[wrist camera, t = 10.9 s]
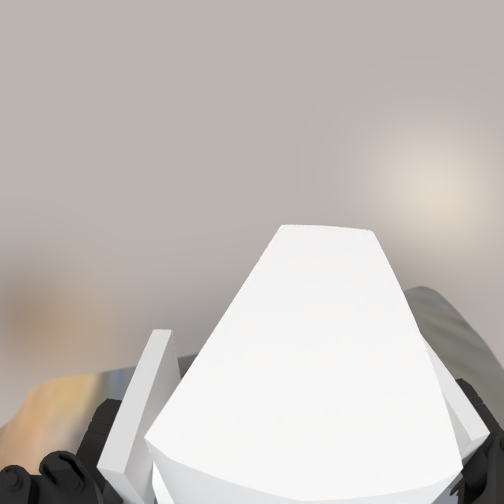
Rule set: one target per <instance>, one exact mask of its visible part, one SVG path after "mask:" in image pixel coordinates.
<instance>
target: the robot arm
mask: <svg viewBox="0 0 504 504" xmlns="http://www.w3.org/2000/svg"><path fill="white" fill-rule="evenodd" d="M421 336H422V335H421ZM422 339H423V342H424V344H425V347H426V349H427V352H428V354H429V357H430V360H431V362H432V365H433V368H434V371H435V374H436V376H437V379H438V382H439V385H440V388H441V391H442V394H443V397H444V400H445V403H446V407H447V410H448V413H449V416H450V420H451V423H452V427H453V430H454V434H455V438H456V441H457V445H458V449H459V453H460V457H461V461H462V466H463V469H462V470H461V473H462V475H463V478H462V479H461V480H460V481H459V482H458V483H457V484H456V485H455V486H454V488H453V489H452V490H451V492H450V495H449V496H452V495H453V494H454V493H455V492H456V491H457V490H458V489H459V491H458V493H457V494H456V496H458V502H457V504H504V431H503V430H502V429H501V427H500V426H499V424H498V423H497V421H496V420H495V418H494V417H493V415H492V414H491V412H490V411H489V410H488V408H487V407H486V405H485V404H483V401H482V400H481V398H480V397H478V394H477V393H476V391H475V390H474V389H473V387H472V386H471V385H470V384H469V383H467V382H466V381H464V380H463V379H462V378H461V379H457V380H454V378H453V377H452V376H451V374H450V373H449V371H448V370H447V369H446V367H445V366H444V364H443V363H442V362H441V360H440V359H439V358H438V356H437V355H436V354H435V352H434V351H433V350H432V348H431V347H430V346H429V344H428V343H427V342H426V340H425V339H424V338H423V337H422ZM180 382H181V376H180V371H179V366H178V361H177V356H176V351H175V345H174V339H173V334H172V330H155V329H154V330H153V332H152V334H151V337H150V339H149V341H148V343H147V346H146V348H145V350H144V352H143V354H142V357H141V359H140V361H139V363H138V366H137V368H136V370H135V373H134V375H133V377H132V380H131V382H130V384H129V387H128V389H127V391H126V394H125V396H124V399H123V401H121V400H114V399H106V400H105V401H104V402H103V403H102V404H101V405H100V406H99V407H98V408H97V409H96V412H95V414H94V416H93V418H92V422H90V425H89V427H88V431H86V433H85V435H84V438H83V440H82V442H81V444H80V447H79V449H78V451H77V454H76V456H75V455H74V454H72V453H70V452H67V451H55V452H52V453H50V454H48V455H47V456H45V457H44V458H43V460H42V461H41V463H40V467H39V472H40V473H41V474H42V475H30V474H29V473H28V472H27V471H26V470H25V469H24V468H23V467H21V466H18V465H10V466H7V467H5V468H4V469H3V470H1V471H0V504H123V502H124V503H125V504H154V499H155V492H154V489H153V485H152V477H153V458H152V455H151V453H150V451H149V448H148V446H147V444H146V441H145V439H144V437H145V435H146V434H147V432H148V431H149V429H150V428H151V426H152V424H153V423H154V421H155V420H156V418H157V417H158V415H159V414H160V412H161V411H162V409H163V408H164V406H165V405H166V403H167V402H168V400H169V399H170V397H171V396H172V394H173V393H174V391H175V390H176V388H177V386H178V385H179V383H180Z"/></svg>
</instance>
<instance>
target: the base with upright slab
mask: <svg viewBox="0 0 504 504" xmlns="http://www.w3.org/2000/svg"><path fill="white" fill-rule="evenodd" d="M144 439H145V441H146V444H147V446H148V448H149V451H150V453H151V455H152V458H153V477H152V485H153V489H154V492H155V495H156V499H157V502H158V504H431V503H432V502H433V501H434V500H435V499H436V498H437V497H438V496H439V495H440V494H441V493H442V492H443V491H444V490H445V489H446V488H447V486H448V485H449V484H450V483H451V482H452V481H453V480H454V478H455V477H456V476H457V475H458V474H459V472H460V471H461V470H462V469H463V466H462V461H461V457H460V453H459V449H458V445H457V441H456V438H455V434H454V430H453V427H452V423H451V420H450V416H449V413H448V410H447V407H446V403H445V400H444V397H443V394H442V391H441V388H440V385H439V382H438V379H437V376H436V374H435V371H434V368H433V365H432V362H431V360H430V357H429V354H428V352H427V349H426V347H425V344H424V342H423V339H422V336H421V334H420V332H419V329H418V327H417V324H416V322H415V319H414V317H413V315H412V312H411V310H410V308H409V305H408V303H407V301H406V299H405V296H404V294H403V292H402V290H401V288H400V285H399V283H398V281H397V279H396V277H395V275H394V273H393V271H392V269H391V267H390V264H389V263H388V260H387V258H386V257H385V254H384V252H383V250H382V248H381V247H380V244H379V243H378V241H377V239H376V237H375V235H374V233H373V232H372V231H368V230H362V229H353V228H343V227H333V226H315V225H313V226H312V225H281V227H280V228H279V229H278V231H277V233H276V234H275V236H274V237H273V239H272V240H271V242H270V244H269V245H268V247H267V249H266V250H265V252H264V253H263V255H262V256H261V258H260V259H259V261H258V263H257V264H256V266H255V267H254V269H253V271H252V272H251V273H250V275H249V277H248V278H247V280H246V281H245V283H244V284H243V286H242V288H241V289H240V291H239V292H238V294H237V295H236V297H235V298H234V300H233V302H232V303H231V305H230V306H229V308H228V309H227V311H226V313H225V314H224V316H223V317H222V319H221V320H220V322H219V323H218V325H217V326H216V328H215V330H214V331H213V333H212V334H211V336H210V337H209V339H208V340H207V342H206V344H205V345H204V347H203V348H202V350H201V351H200V353H199V354H198V356H197V357H196V359H195V360H194V362H193V363H192V365H191V367H190V368H189V370H188V371H187V373H186V374H185V376H184V377H183V379H182V380H181V382H180V383H179V385H178V386H177V388H176V390H175V391H174V393H173V394H172V396H171V397H170V399H169V400H168V402H167V403H166V405H165V406H164V408H163V409H162V411H161V412H160V414H159V415H158V417H157V418H156V420H155V421H154V423H153V424H152V426H151V428H150V429H149V431H148V432H147V434H146V435H145V437H144Z"/></svg>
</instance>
